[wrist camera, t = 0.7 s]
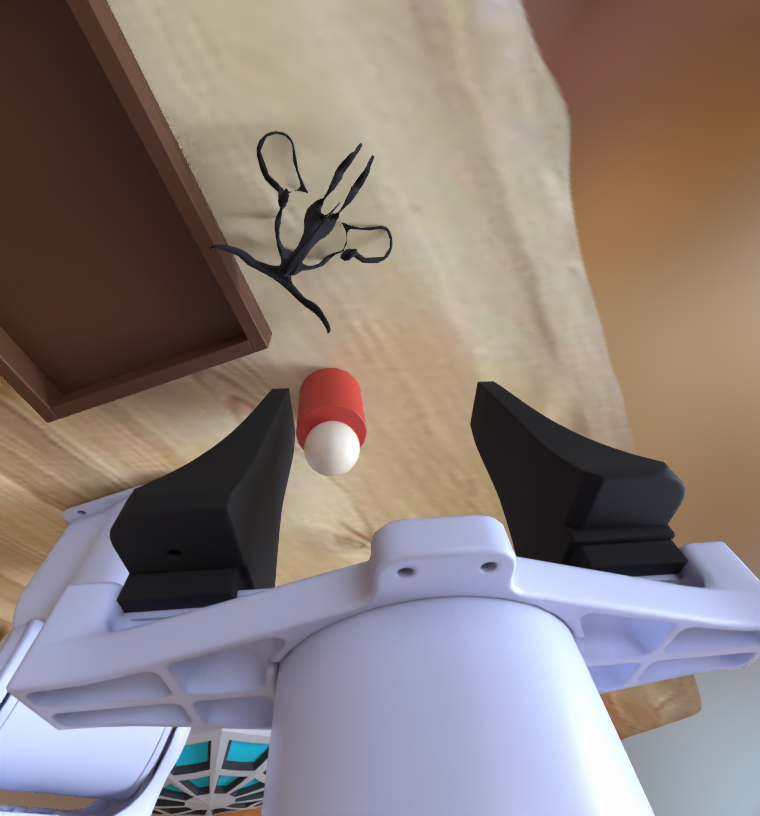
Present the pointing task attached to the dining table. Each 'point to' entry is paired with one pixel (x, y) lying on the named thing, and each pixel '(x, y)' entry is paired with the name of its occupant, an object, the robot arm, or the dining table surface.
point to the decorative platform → (216, 773)
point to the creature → (307, 230)
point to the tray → (102, 223)
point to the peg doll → (331, 421)
